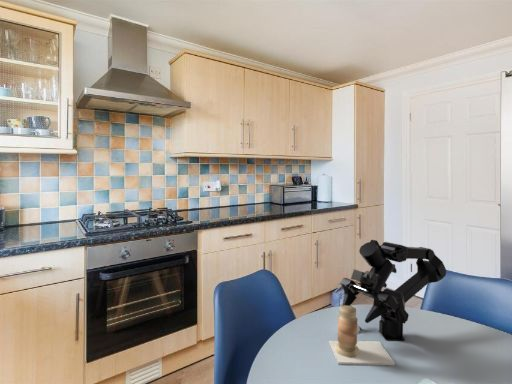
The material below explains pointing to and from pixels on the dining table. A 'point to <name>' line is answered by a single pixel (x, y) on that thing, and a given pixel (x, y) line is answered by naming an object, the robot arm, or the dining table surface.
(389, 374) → the dining table surface
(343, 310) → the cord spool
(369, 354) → the mat
